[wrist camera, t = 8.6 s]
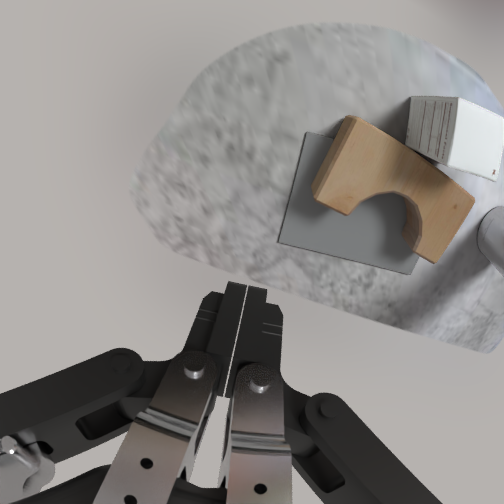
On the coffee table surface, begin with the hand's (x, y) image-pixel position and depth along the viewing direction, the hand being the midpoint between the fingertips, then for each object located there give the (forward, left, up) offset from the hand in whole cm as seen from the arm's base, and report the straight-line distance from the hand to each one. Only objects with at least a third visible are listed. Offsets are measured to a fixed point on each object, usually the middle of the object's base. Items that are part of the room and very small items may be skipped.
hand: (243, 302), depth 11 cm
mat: (-14, +4, -29) cm, 32 cm away
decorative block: (-6, -3, -26) cm, 26 cm away
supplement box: (-19, -11, -29) cm, 36 cm away
